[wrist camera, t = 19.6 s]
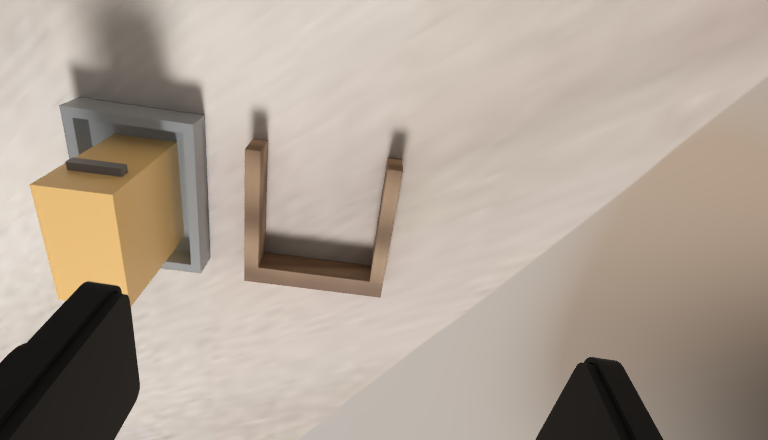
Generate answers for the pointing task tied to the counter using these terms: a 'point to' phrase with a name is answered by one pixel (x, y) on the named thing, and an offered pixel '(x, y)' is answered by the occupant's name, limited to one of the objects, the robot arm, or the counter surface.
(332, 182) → the counter surface
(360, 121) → the counter surface
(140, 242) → the yellow block
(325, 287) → the walnut bay
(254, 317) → the counter surface
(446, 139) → the counter surface
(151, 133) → the grey tray
